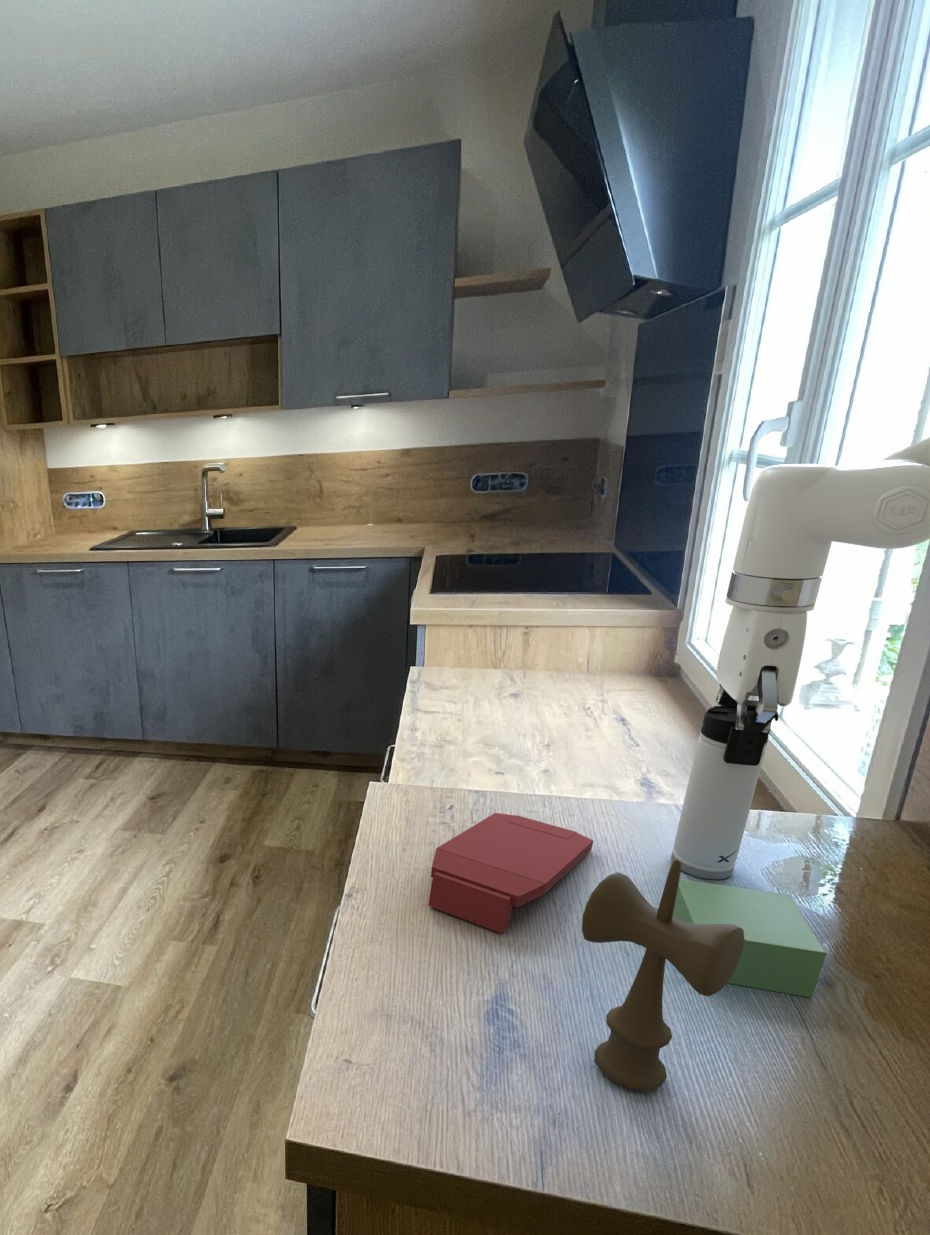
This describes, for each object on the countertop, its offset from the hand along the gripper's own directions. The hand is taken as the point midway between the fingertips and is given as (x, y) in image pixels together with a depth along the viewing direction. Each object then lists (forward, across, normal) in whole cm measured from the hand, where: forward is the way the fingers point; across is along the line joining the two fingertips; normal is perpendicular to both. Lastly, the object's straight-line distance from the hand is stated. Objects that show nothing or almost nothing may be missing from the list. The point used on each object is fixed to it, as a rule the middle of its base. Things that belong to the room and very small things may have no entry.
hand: (731, 750), depth 88 cm
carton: (+15, -8, +22) cm, 28 cm away
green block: (+15, -18, +1) cm, 23 cm away
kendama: (+15, -38, +13) cm, 43 cm away
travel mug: (+15, 0, 0) cm, 15 cm away
